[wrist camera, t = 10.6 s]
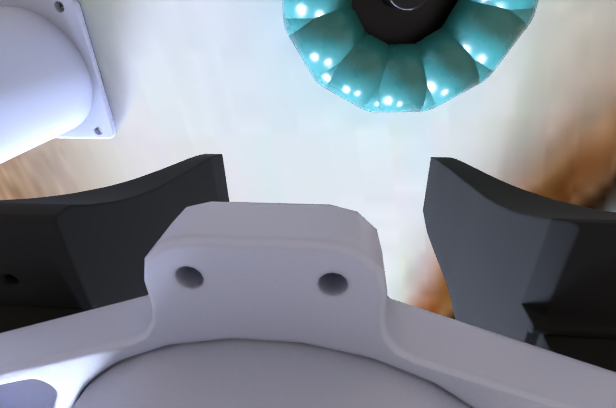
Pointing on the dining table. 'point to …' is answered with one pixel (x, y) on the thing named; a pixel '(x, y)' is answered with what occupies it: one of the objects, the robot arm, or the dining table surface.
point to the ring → (404, 52)
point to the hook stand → (402, 18)
